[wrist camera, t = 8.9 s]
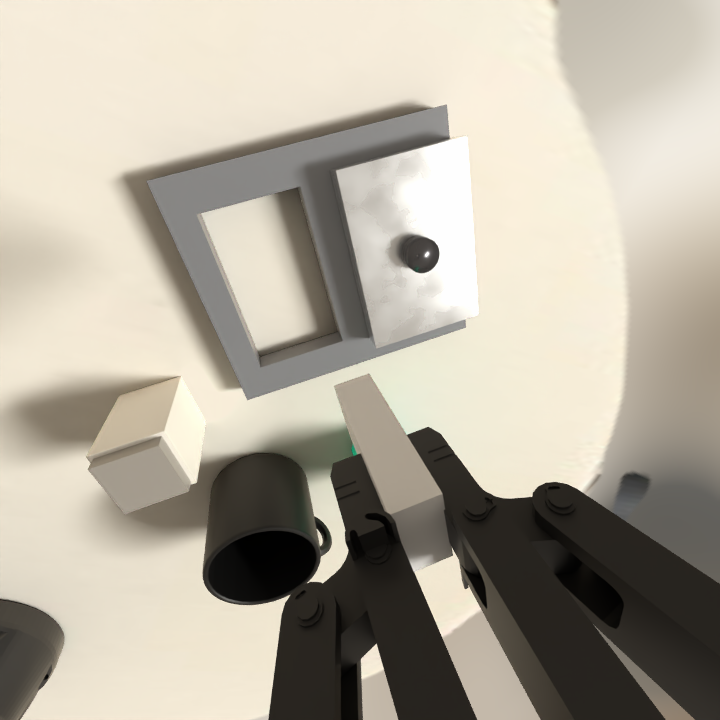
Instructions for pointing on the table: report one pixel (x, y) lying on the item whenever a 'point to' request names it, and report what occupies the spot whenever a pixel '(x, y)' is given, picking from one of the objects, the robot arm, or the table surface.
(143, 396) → the plug
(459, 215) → the panel
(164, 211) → the grey flat frame
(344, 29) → the table surface
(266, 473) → the mug
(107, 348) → the table surface
